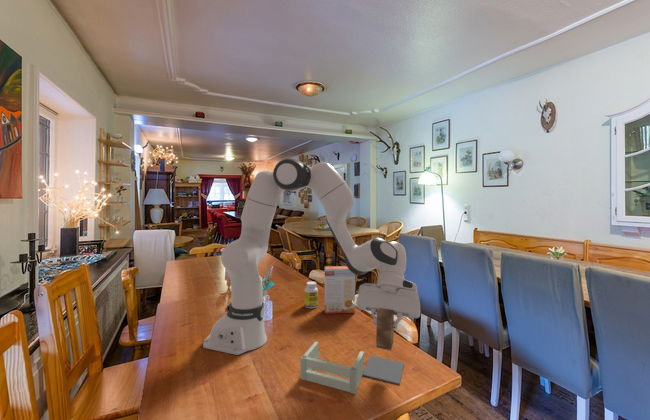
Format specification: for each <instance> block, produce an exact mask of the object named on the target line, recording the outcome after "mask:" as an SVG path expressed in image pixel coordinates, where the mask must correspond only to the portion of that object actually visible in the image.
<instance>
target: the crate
mask: <svg viewBox="0 0 650 420" xmlns="http://www.w3.org/2000/svg"><path fill="white" fill-rule="evenodd" d="M319 344H320V342H319V341H314V342H313V343H312V345H311V346H310V347H309V348H308V349H307V350H306V352H305V353H304V354H303V355H301V357H300V380H302V381H308V382H311V383H315V384H318V385H322V386H325V387H330V388H333V389H336V390H340V391H344V392H347V393H350V394H353V395H356V394H357V391H358V388H359V385H360V384H361V383H360V382H361V381H362V378H363V377H364V376H363V372H364V370H365V352H364V351H362V350H361V351H359V354H358V355H357V357H356V359H355V361H354V363H353V365H352V366H349V365H344V364H339V363H336V362H331V361H327V360H322V359H319V357H320V356H319V355H320V350H319V348H320V347H319V346H320V345H319ZM314 370H317V371H314ZM318 371H320V372H318ZM321 372H324V373H321ZM326 373H328V374H326ZM329 374H331V375H329ZM334 375H335V376H334ZM338 376H339V377H338ZM342 377H344V378H342ZM346 378H347V379H346ZM348 379H349V380H348Z"/></svg>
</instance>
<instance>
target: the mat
mask: <svg viewBox="0 0 650 420" xmlns="http://www.w3.org/2000/svg"><path fill="white" fill-rule="evenodd" d="M368 358H369V359H368V361H367V363H366V365H365V366H364V372H363V376H362V377H366V378H371V379H375V380H379V381H381V382H382V381H383V382H387V383H391V384H393V385H394V384H395V385H398V386H399V385H401V380H402V377H403V369H404V366H405V362H403V361H402V362H401V361H397V360H393V359H388V358H384V357H379V356H374V355H370V356H369V357H368Z"/></svg>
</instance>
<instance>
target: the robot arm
mask: <svg viewBox="0 0 650 420" xmlns="http://www.w3.org/2000/svg"><path fill="white" fill-rule="evenodd" d="M306 188H307V189H310V190H311V191H312V192H313V193H314V195H315V196H316V197H317V199H318V200H319V202H320V203H321V205H322V207H323V209H324V212H325V219H326V224H327V226H328V228H329V230H330V232H331V234H332V236H333V238H334V240H335V242H336V243H337V246H338V248H339V250H340V252H341V253H342V255H343V258H344V261H345V266H347V267H348V269H349V270H350V271H351V272H353V273H354V274H355V276H356V275H357V276H363V275H365V274H367V273H368V272H371V271H372V270H378V271H379V272H378V277H377V281H376V283H369V282H364V283H362V284H360V285H359V287H358V295H357V298H356V300H355V305H356V307H357V308H358V309H359V310H361V311H368V312H370V313H371V316H372V325H373V326H377V317H376V316H377V311H378V309H379V308H383V309H390V310H394V316H396V319H395V320H394V321H393V322H392V323H393V324H392V328H394V329H396V330H398V326H399V325H398V324H400V322H402V320H403V317H405V318H413V319H419V318H420V316H421V303H420V302H421V301H420V295H419V293H418V291H419V290H418V286H417V284H416V283H414V282H412V281H410V280H407V279H405V272H406V270H407V253H406V252H407V251H406V248H405V246H404V245H403V244H402V243H400V242H398V241H387V240H385V239H384V238H382V237H378V236H377V237H374V238H372V239H370V240H368V241H365V242H364V243H362V244H360V245H357V244H356V243H355V241H354V238H353V237H352V235H351V233H350V231H349V229H348V227H347V218H348V215H349V214H350V212H351V211H352V208H353V205H354V200H355V198H354V194H353V192H352V190H351V188H350V186H349V185H348V183H347V182H346V181H345V179H344V178H343V177H342V175H341V174H340V173H339V172H338V171H337V170H336V169H335V168H334V166H333V165H331V164H330V163H329V162H325V161H321V162H318V163H316V164H314V165H313V166H309V165H307V164H306V163H304V162H302V161H301V160H298V159H295V158H284V159H282V160H280V161H278V162H277V163H276V164H275V167H274V168H273V171H268V170H263V171H259V172H258V173H257V174H256V175H255V177H254V179H253V181H252V183H251V185H250V187H249V190H248V193H247V195H246V199H245V202H244V205H243V209H242V213H241V216H240V221H241V231H240V232H241V233H240V236H239V238H238V239H235V240H233V241H231V242H229V243H228V244H227V246H226V247H224V249H222V250H223V251H222V252H221V256H220V259H221V260H220V261H221V265H222V266H223V267H224V268H225V269H226V271H227V273H228V278H229V280H230V291H231V293H230V294H231V295H230V296H231V301H230V303H229V304H228V305H226V307H225V309H224V313H226V314H225V315H223V316H222V317H221V318H219V319H218V320H217V321H216V322H215V323H214V324H213V325H212V328H211V329H210V334H209V335H208V336H207V337H206V338H204V341H203V343H202V344H203V345H202V348H203V349H207V350H212V351H216V352H222V353H226V354H231V355H235V356H237V355H242V354H244V353H246V352H249V351H252V350H256V349H258V348H260V347H262V346H264V345H265V344H266V342H267V341H268V337H267V334H266V330H265V329H266V328H265V323H264V316H265V305H264V301H263V281H262V279H261V277H260V273H259V268H258V267H259V266H258V265H259V262H261V261H262V260H263V259H264V258H265V257H266V254H267V253H268V251H269V242H270V233H271V228H272V223H273V219H274V217H275V214H276V211H277V207H278V203H279V201H280V197H281V195H282V194H283V193H284V192H285V191H287V192H300V191H304V190H305V189H306Z"/></svg>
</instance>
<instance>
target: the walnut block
mask: <svg viewBox="0 0 650 420" xmlns="http://www.w3.org/2000/svg"><path fill="white" fill-rule="evenodd" d="M394 316H395V315H394V310H390V309H383V308H379V309H378V311H377V313H376V318H377V325H376V335H375V336H376V343H375V344H376V346H375V347H376V348H378V349H382V350H388V351H392V349H393V346H394V335H395V334H394V328H392V324H393V323H392V322H393V321H395V320H394V319H395V318H394Z"/></svg>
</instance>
